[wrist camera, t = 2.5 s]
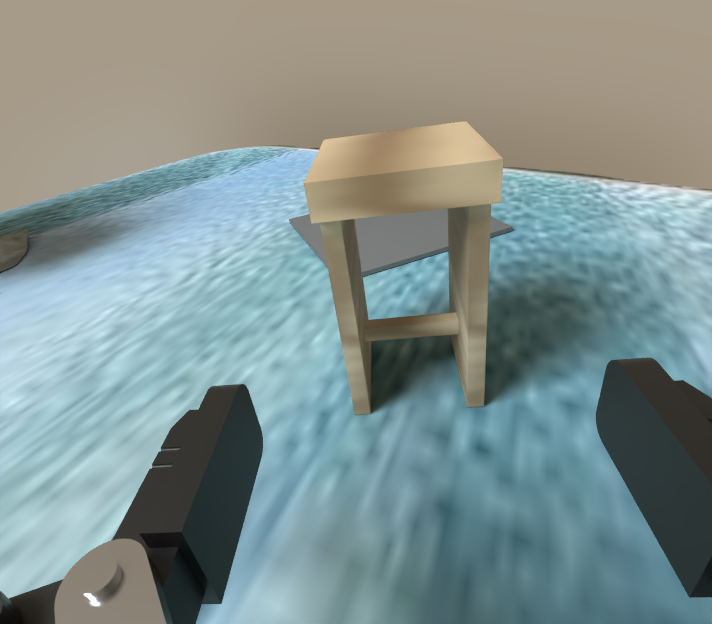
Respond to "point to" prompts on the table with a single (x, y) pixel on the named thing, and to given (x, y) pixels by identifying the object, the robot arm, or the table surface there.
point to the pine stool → (397, 196)
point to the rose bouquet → (12, 248)
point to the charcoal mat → (392, 237)
